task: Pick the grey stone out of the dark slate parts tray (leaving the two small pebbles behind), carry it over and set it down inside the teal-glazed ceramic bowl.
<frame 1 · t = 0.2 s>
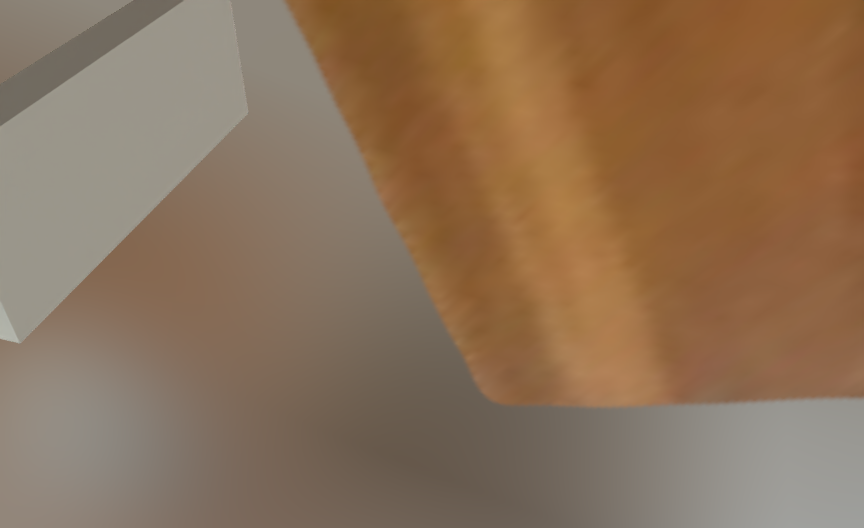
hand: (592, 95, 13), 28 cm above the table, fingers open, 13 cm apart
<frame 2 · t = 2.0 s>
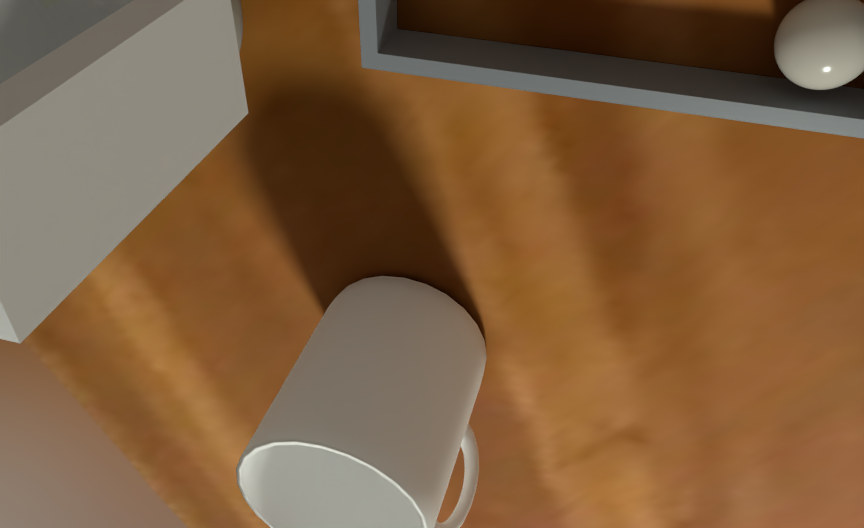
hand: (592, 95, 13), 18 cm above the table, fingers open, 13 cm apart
pebble a: (820, 24, 28), on the table
teacup: (159, 8, 36), on the table
mug: (428, 343, 44), on the table
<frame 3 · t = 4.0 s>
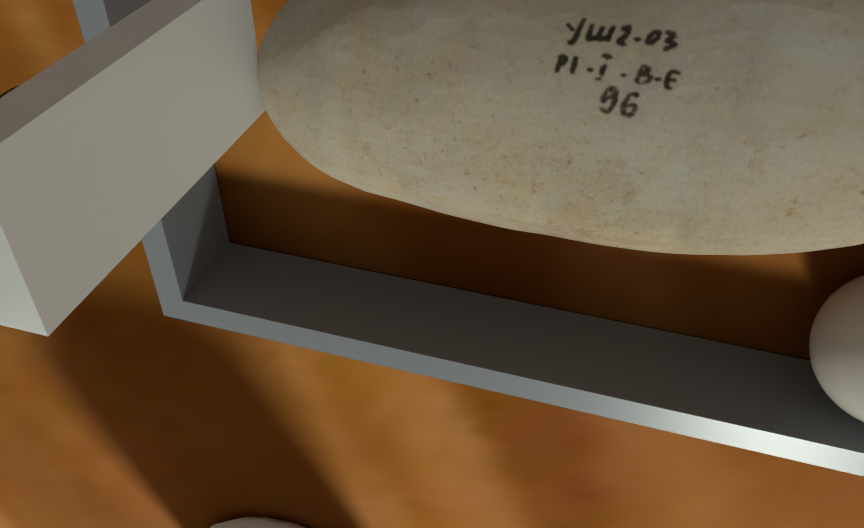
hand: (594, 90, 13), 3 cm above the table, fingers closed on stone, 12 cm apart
tray: (614, 26, 15), on the table
stone: (619, 22, 15), on the table, touching gripper
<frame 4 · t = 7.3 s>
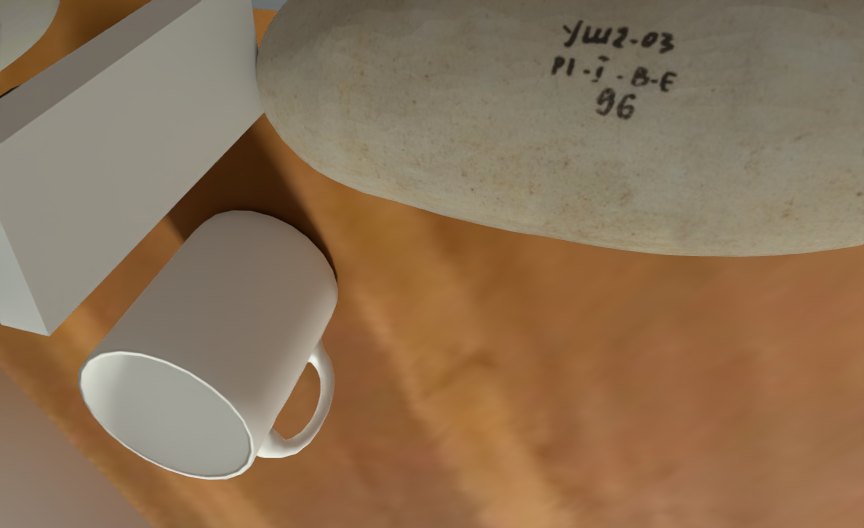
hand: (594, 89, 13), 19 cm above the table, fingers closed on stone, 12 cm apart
mug: (288, 278, 47), on the table
stone: (616, 24, 15), point 17 cm above the table, touching gripper
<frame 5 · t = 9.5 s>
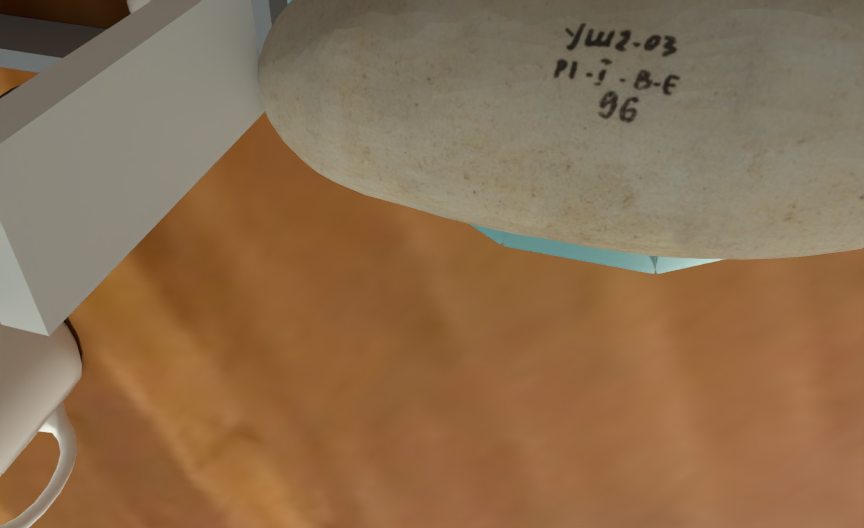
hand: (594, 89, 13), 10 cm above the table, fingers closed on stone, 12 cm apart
mug: (32, 336, 42), on the table
stone: (618, 26, 15), point 7 cm above the table, touching gripper
when the fingers open (6 cm above the table, at t = 11.0 s): stone drops 3 cm, resting on bowl.
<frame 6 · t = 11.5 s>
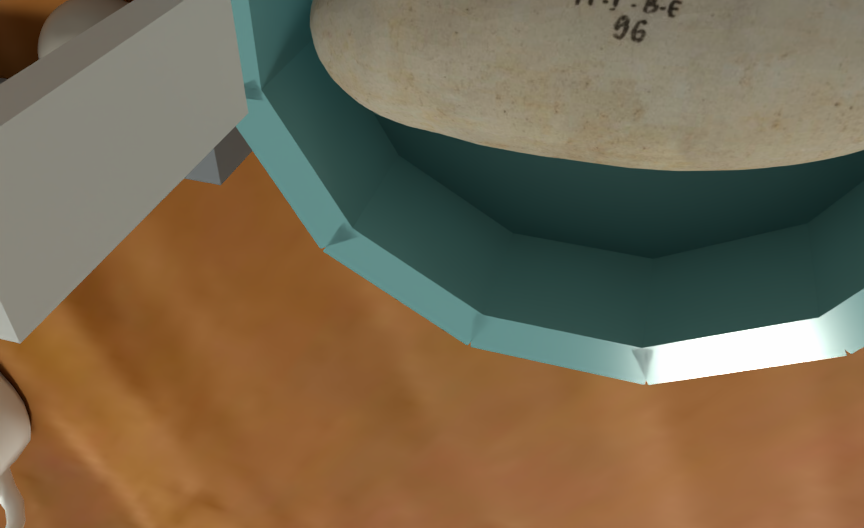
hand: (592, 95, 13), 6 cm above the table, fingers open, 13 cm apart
pebble a: (137, 33, 22), on the table
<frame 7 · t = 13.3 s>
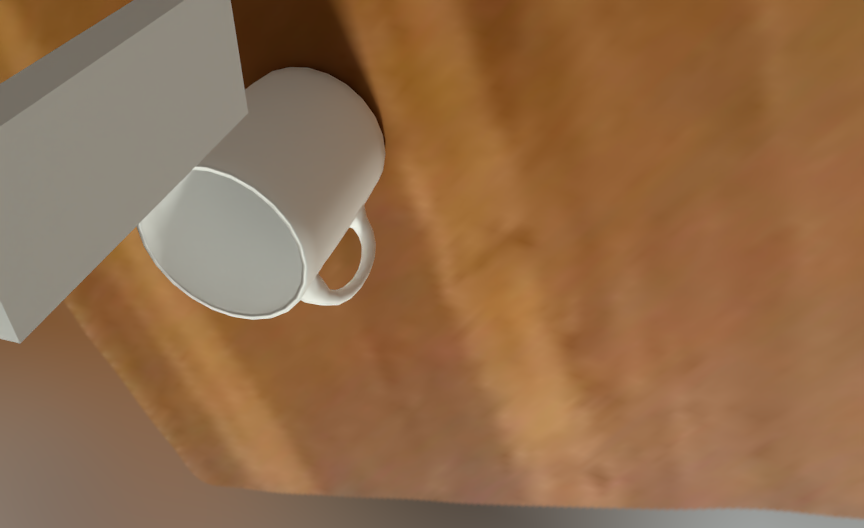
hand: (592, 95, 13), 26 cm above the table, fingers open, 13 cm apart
mug: (334, 146, 48), on the table
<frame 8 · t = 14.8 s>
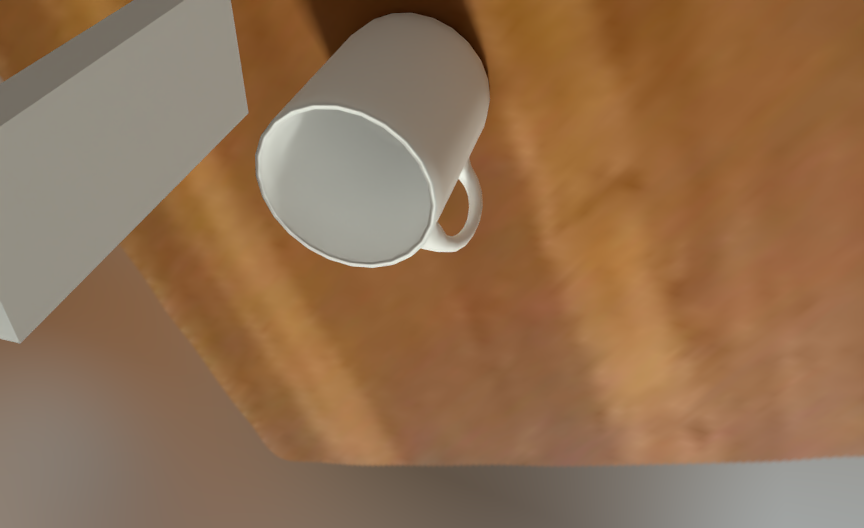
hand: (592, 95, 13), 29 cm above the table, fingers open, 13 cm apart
mug: (435, 96, 47), on the table
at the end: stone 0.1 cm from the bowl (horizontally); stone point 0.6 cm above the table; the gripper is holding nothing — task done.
